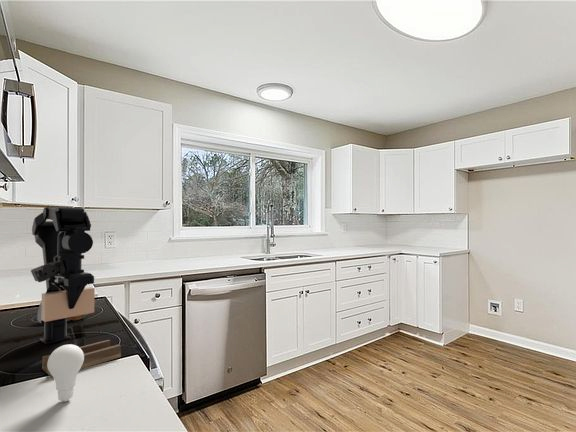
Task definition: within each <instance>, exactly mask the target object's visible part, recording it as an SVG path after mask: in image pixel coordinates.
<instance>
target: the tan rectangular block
mask: <svg viewBox="0 0 576 432" xmlns="http://www.w3.org/2000/svg"><path fill="white" fill-rule="evenodd" d="M95 289H96V288H95V287H91V286H88V287H85V288H84V290H83V292H82V293H81V295H80V297H79V299H78V301H77V303H76V305H75V307H74V308H73V309H69V307H68V302H67V295H66V290H65V291H57V292H50V293H46V292H44V293H41V300H42V310H41V320H42V321H44V322H47V321H52V320H57V319H63V318H68V317H73V316H78V315H84V314H87V315H88V314H89V315H90V314H93V313H95Z"/></svg>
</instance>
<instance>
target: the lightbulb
mask: <svg viewBox="0 0 576 432" xmlns="http://www.w3.org/2000/svg"><path fill="white" fill-rule="evenodd" d="M79 347H80V346H78V345H76V344H72V343H70V344H63V345H60V346H59V347H57V348H55V349H54V350H53V351H52V352H51V355H50V354H49V355H50V357H49V359H48V362H47V367H48V370H49V372H50V373H51V375H52V376H53V379H54V381H55V388H56V391H57V399H58V401H60V402H64V403H65V402H67V401H69V400H70V399H72V398H73V397H74V390H75V389H74V387H75V386H76V380H77V376H78V373H79V372H80V370H81V369H80V368H81V366H82V364H83V361H84V354H83V351H82V350H81V349H80V348H79Z"/></svg>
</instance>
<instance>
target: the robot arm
mask: <svg viewBox="0 0 576 432" xmlns="http://www.w3.org/2000/svg"><path fill="white" fill-rule="evenodd" d="M31 227H32V228H31V235H32V236H34V240H35V243H36V244H37V245H38V246H39V247H40V248H41V249H42V259H43V264H42V265H40V266H37V267H35V268H33V269H31V270H30V272H31V275H32V277H33V280H34V281H35V282H37V283H42V282H45V286H46V292H45V293H50V292H57V291H65V290H66V295H67V302H68V307H69V309H73V308H74V307H75V305H76V303H77V301H78V299H79V297H80V295H81V293H82V292H83V290H84V288H86V286H88V285H93V284H95V276H94V275H93V274H92V273H91V272H85V269H82V260H85V255H84V254H85V253H88V252H89V251H90V250H91V249H92V248H93V246H94V240H93V238H92V236H91V235H90V234H89V233H87V232H90V231H91V227H92V224H91V221H90V218H89V215H88V213H87V212H86V211H85V209H84V208H83V207H72V206H71V207H67V206H46V207H45V206H44V207H43V211H42V212H41V213H39V214H38V215H37V216H36V217H34V219H33V223H32V226H31ZM39 303H40V304H39V307H38V310H37V314H36V315H37V318H36V319H37V322H39V323H40V324H43V325H44V326H43V328H44V329H43V330H44V331H43V332H44V333H43V337H39V341H41V342H42V343H43V344H45V345H49V344H53V343H57V342H62V341H66V340H70V339H72V336H70V335H68V333H67V332H68V330H67V329H68V327H67V326H68V321H67V318H63V319H57V320H52V321H47V322H44V321H42V320H41V310H42V299H41V302H39ZM73 317H74V316H73ZM73 317H68V318H73Z"/></svg>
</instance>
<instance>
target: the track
mask: <svg viewBox="0 0 576 432" xmlns="http://www.w3.org/2000/svg"><path fill="white" fill-rule="evenodd" d="M111 343H112V342H111V339H106V340H102V341H98V342H94V343H90V344H86V345H82V346H78V347H79V348H80V349H81V350H82V351H83V354H84V361H83V364H82V366H81V368H80V370H83V369H85V368H90V367H92V365H93V366H96V365H99V364H102V363H105V362H108V361H112V360H116V359H119V358H121V357H122V345H121V344H116V345H111ZM51 354H52V353H51ZM51 354H47V355H43V356H42V358H41V362H42V363H41V364H42V365H41V370H43V371H44V372H45V373H46V374H47V375H48V376H50V377H51V378H53V379H54V377H53V376H52V375H51V373H50V372H49V370H48V367H47V362H48V359H49V357H50V355H51Z"/></svg>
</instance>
